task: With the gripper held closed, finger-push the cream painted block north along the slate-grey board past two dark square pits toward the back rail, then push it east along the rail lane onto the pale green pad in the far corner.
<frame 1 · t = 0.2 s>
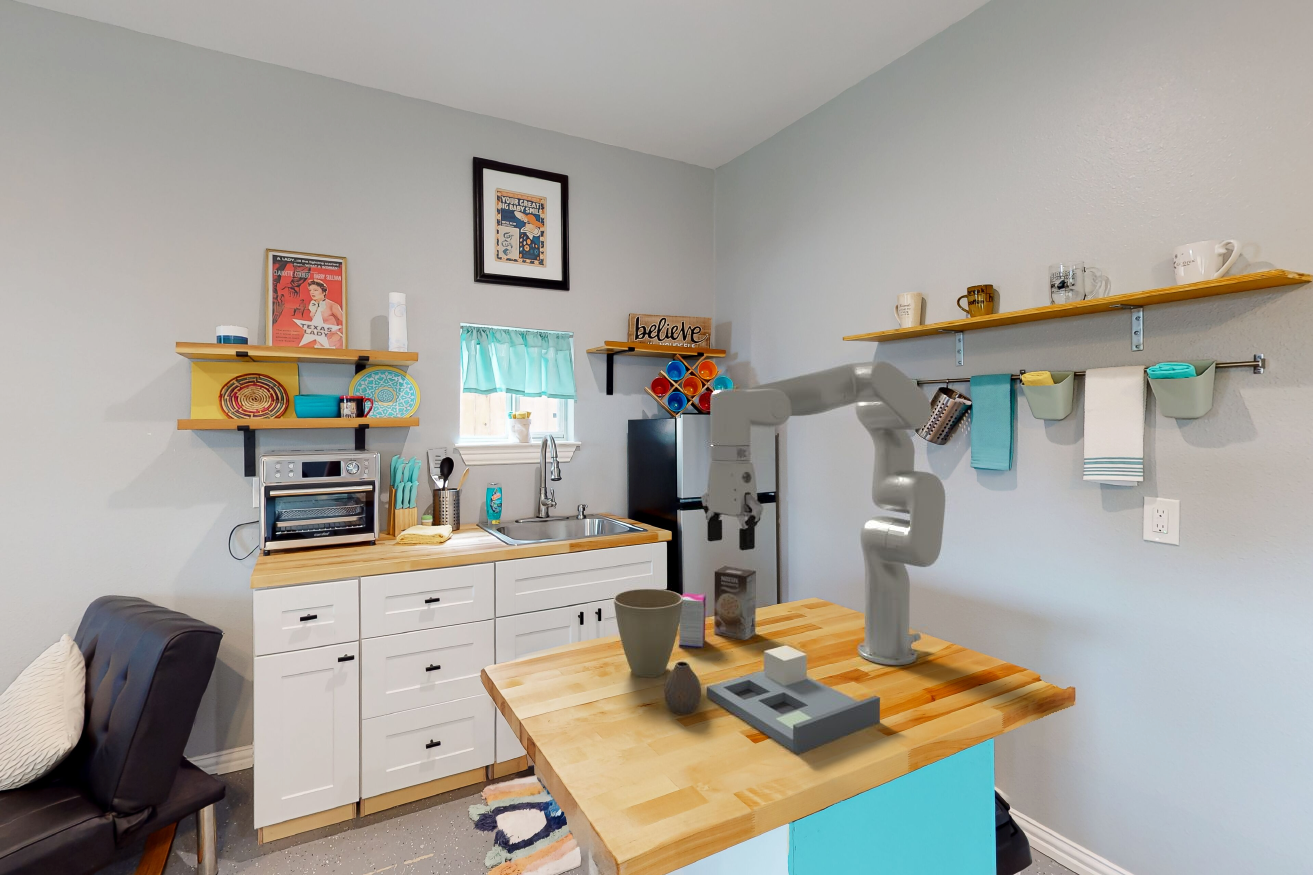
hand: (730, 544, 120), 30 cm above the counter, tool pointing down, fingers open, 9 cm apart
supplement box: (692, 644, 153), on the counter
coffee box: (735, 634, 159), on the counter
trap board: (787, 707, 119), on the counter
vase: (682, 710, 119), on the counter
plant pot: (649, 671, 137), on the counter
cream block: (785, 677, 128), point 2 cm above the counter, touching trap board
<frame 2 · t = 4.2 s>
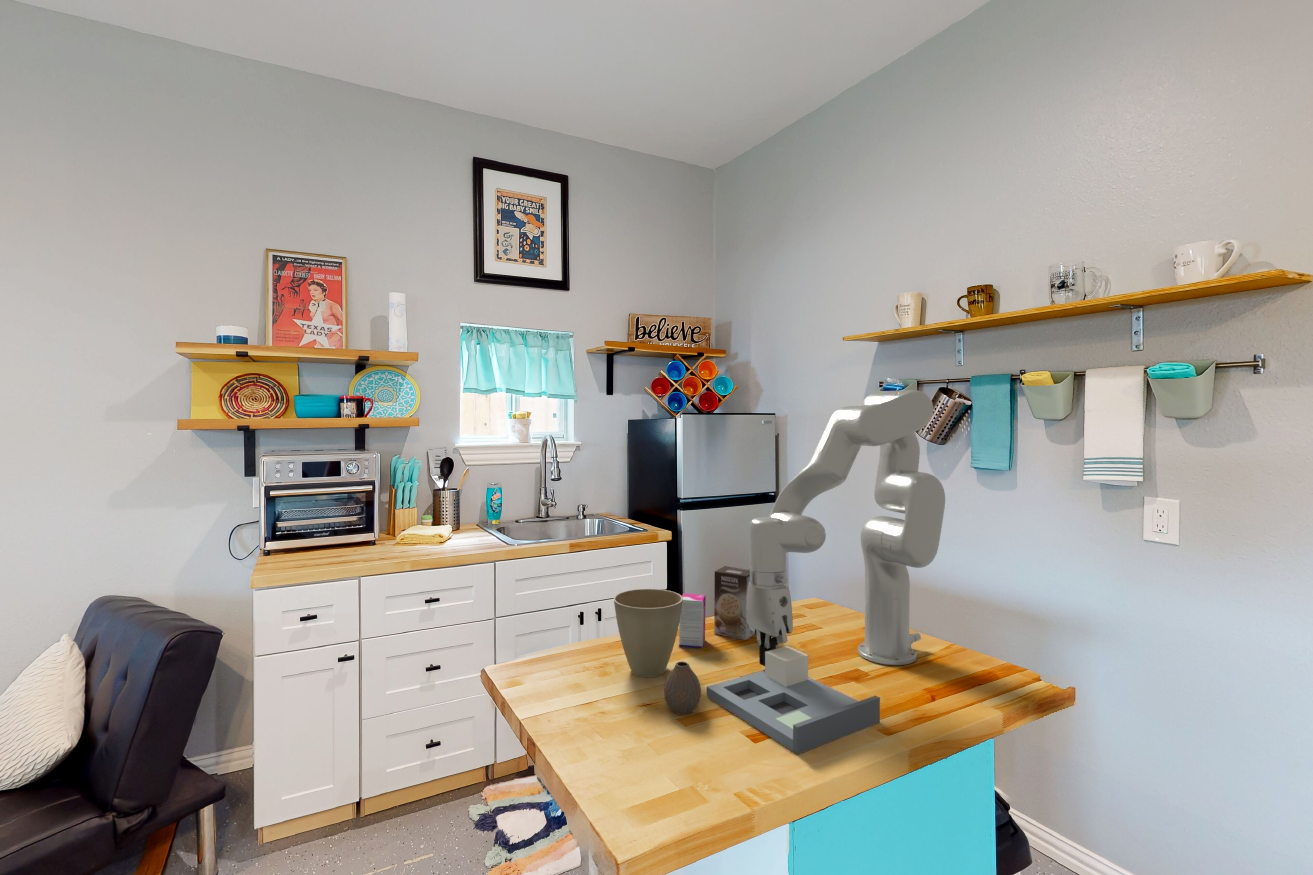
hand: (767, 663, 132), 3 cm above the counter, tool pointing down, fingers closed
cream block: (786, 677, 128), point 2 cm above the counter, touching gripper
everything else where it was.
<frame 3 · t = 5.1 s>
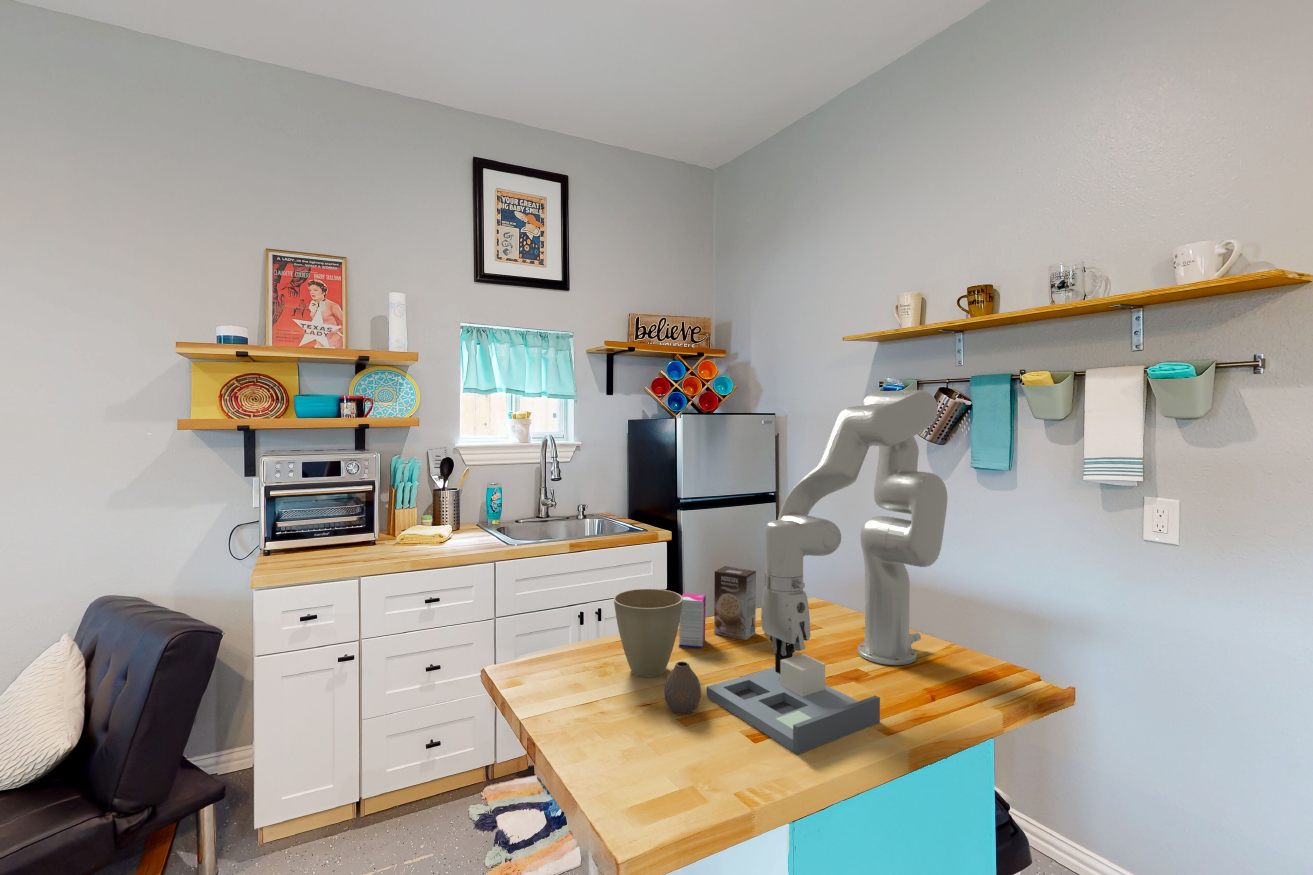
hand: (783, 671, 128), 3 cm above the counter, tool pointing down, fingers closed
cream block: (802, 687, 123), point 2 cm above the counter, touching gripper
everything else where it was.
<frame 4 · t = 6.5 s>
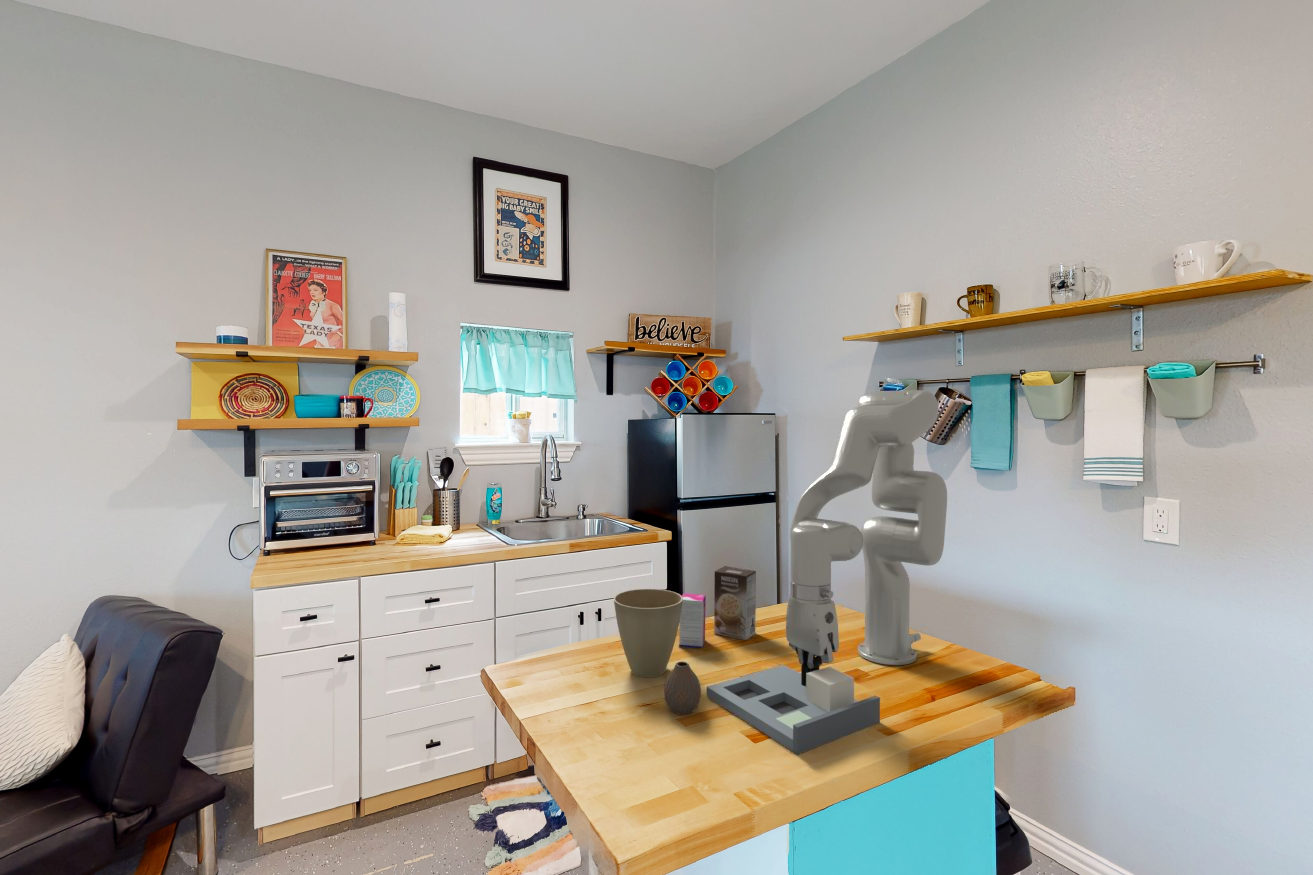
hand: (810, 684, 122), 3 cm above the counter, tool pointing down, fingers closed
cream block: (829, 702, 117), point 2 cm above the counter, touching gripper, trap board
everything else where it was.
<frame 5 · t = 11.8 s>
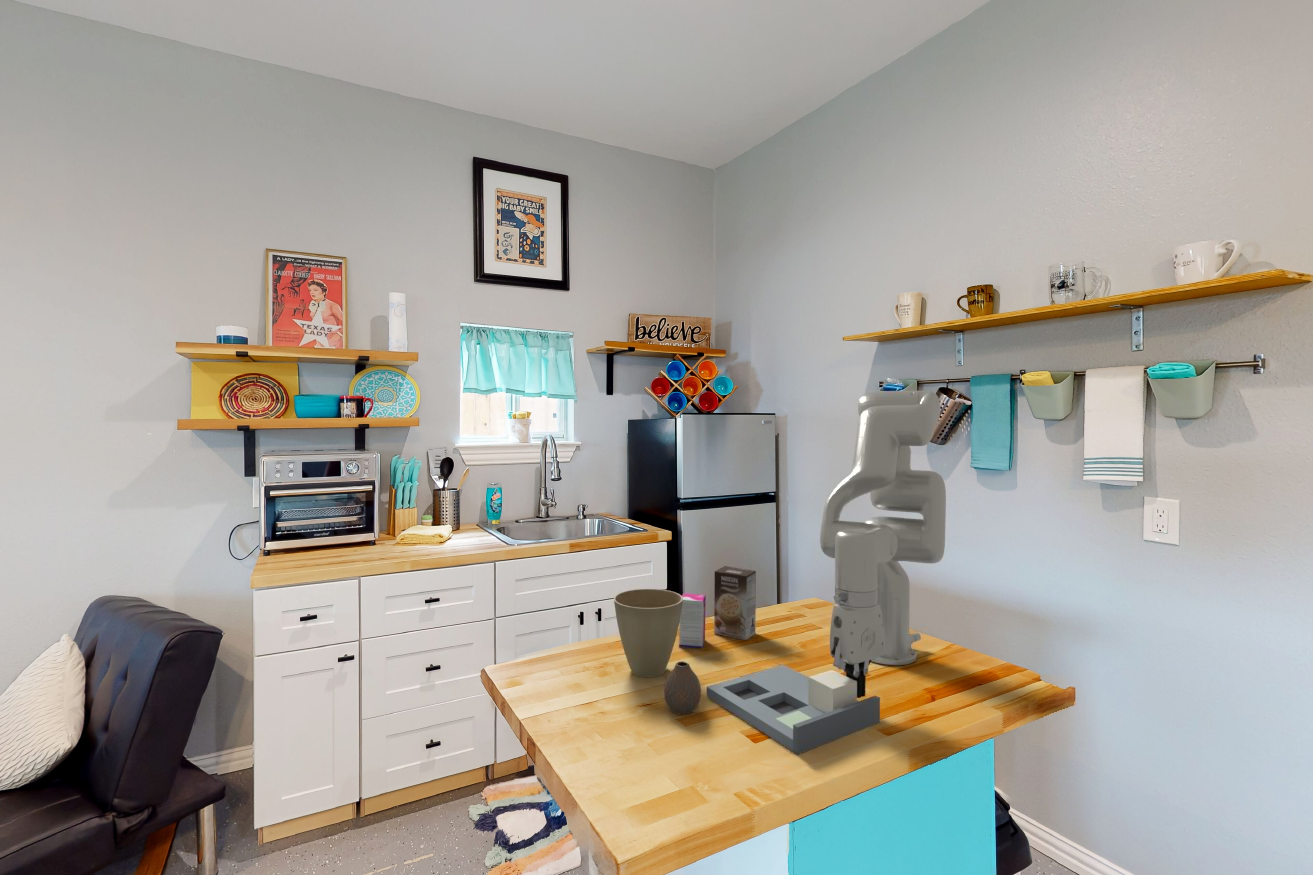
hand: (855, 694, 118), 3 cm above the counter, tool pointing down, fingers closed
cream block: (832, 706, 115), point 2 cm above the counter, touching gripper, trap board
everything else where it was.
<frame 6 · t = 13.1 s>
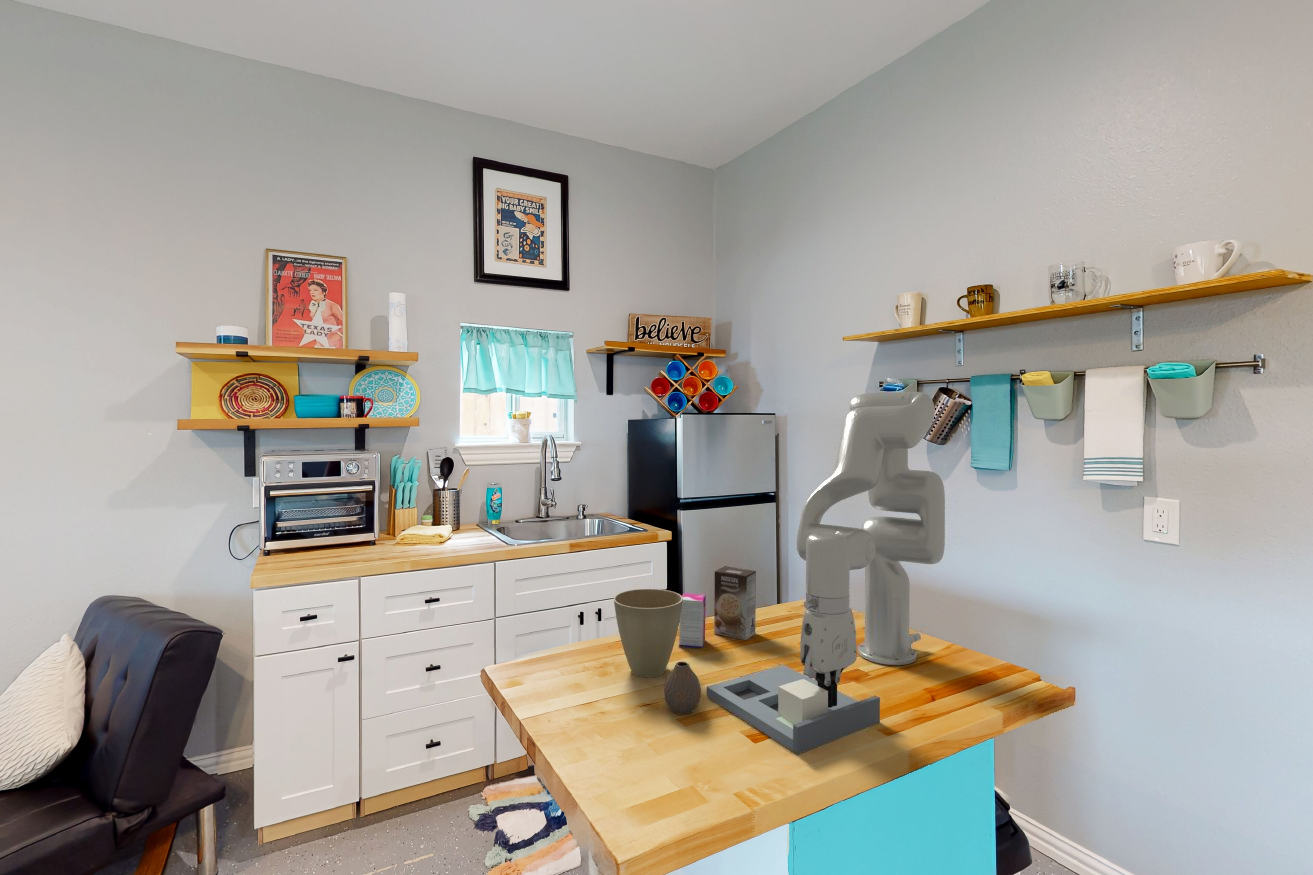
hand: (827, 703, 114), 3 cm above the counter, tool pointing down, fingers closed
cream block: (802, 716, 111), point 2 cm above the counter, touching gripper, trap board
everything else where it was.
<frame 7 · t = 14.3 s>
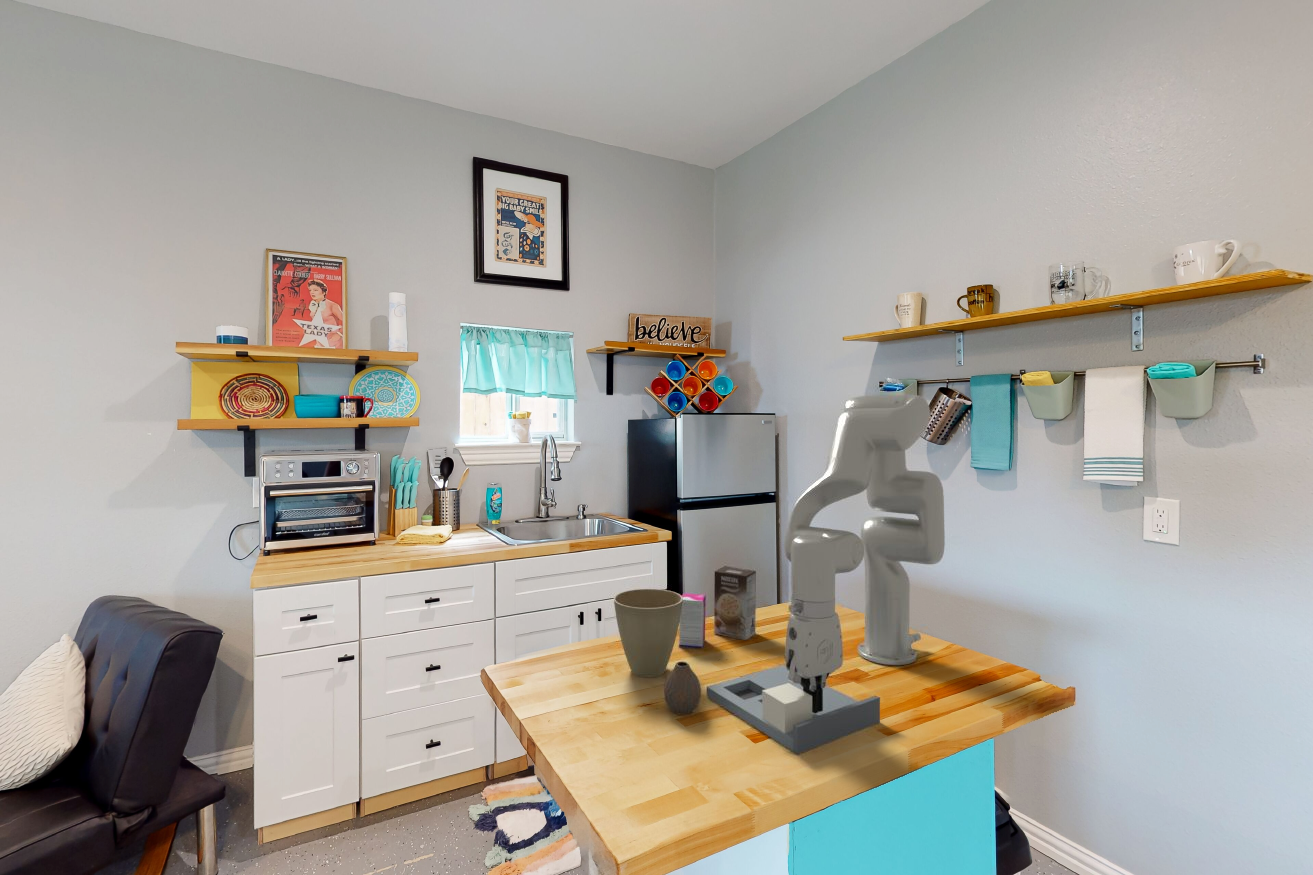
hand: (812, 709, 112), 3 cm above the counter, tool pointing down, fingers closed
cream block: (786, 721, 110), point 2 cm above the counter, touching gripper, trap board
everything else where it was.
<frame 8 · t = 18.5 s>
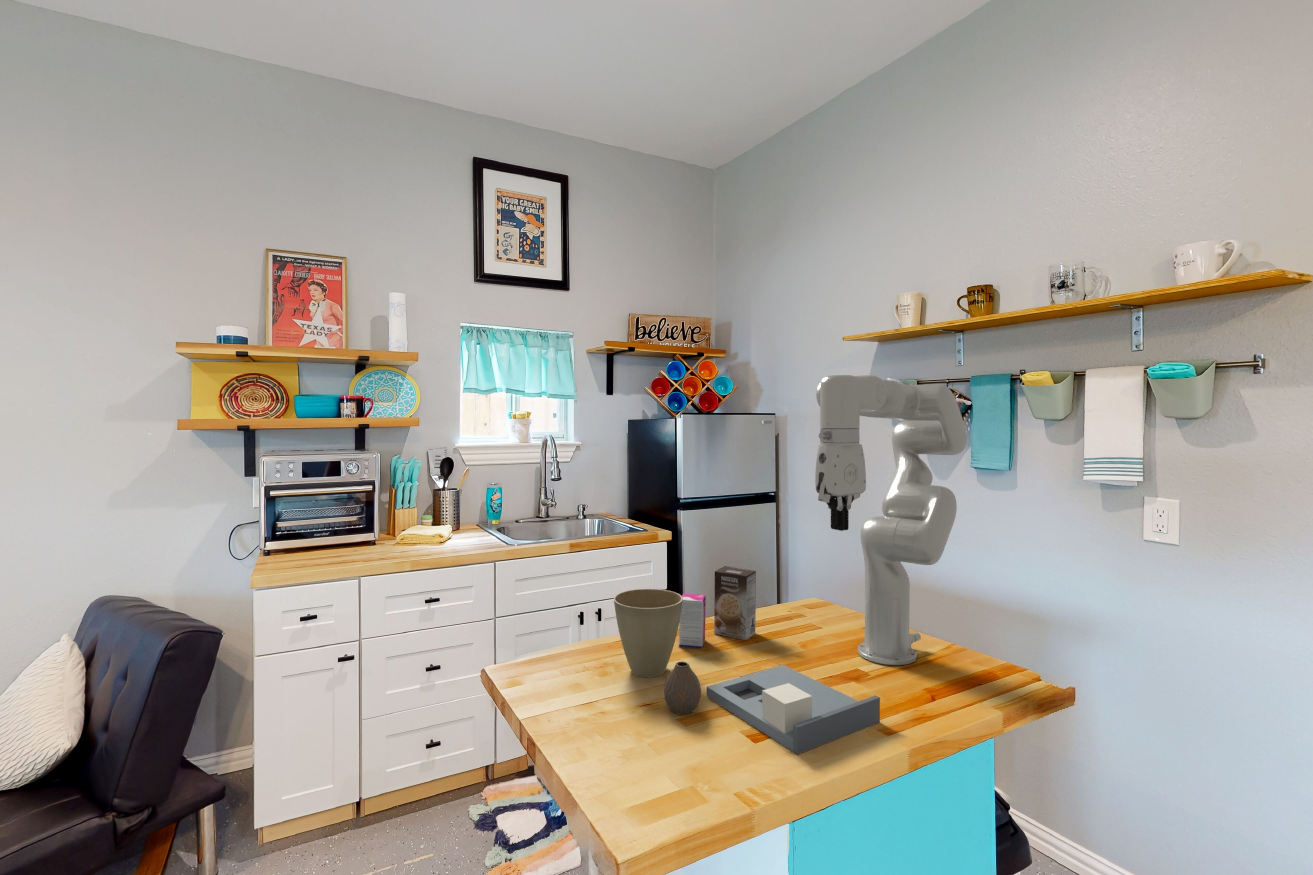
hand: (839, 529, 126), 32 cm above the counter, tool pointing down, fingers closed
cream block: (786, 721, 110), point 2 cm above the counter, touching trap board
everything else where it was.
at the end: cream block inside the target area (1.5 cm from its centre), point 2.0 cm above the counter; cream block tilted 0°; cream block moved 18.8 cm from its start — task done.
